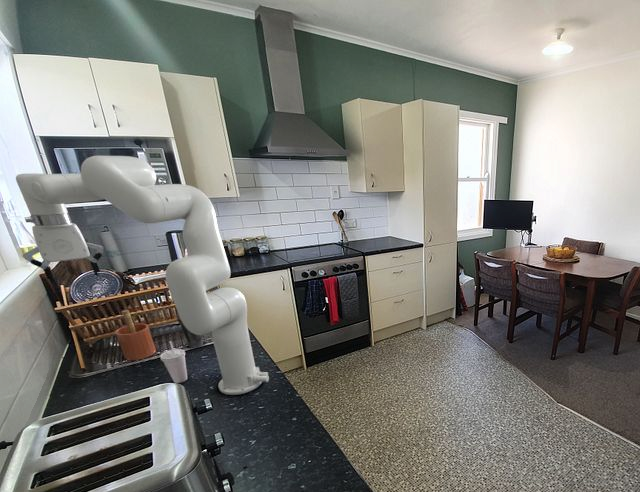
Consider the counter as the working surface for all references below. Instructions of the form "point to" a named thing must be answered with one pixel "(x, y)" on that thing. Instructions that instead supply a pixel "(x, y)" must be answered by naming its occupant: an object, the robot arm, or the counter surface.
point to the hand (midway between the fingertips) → (75, 277)
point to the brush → (129, 321)
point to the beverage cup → (190, 335)
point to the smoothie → (175, 363)
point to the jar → (136, 342)
